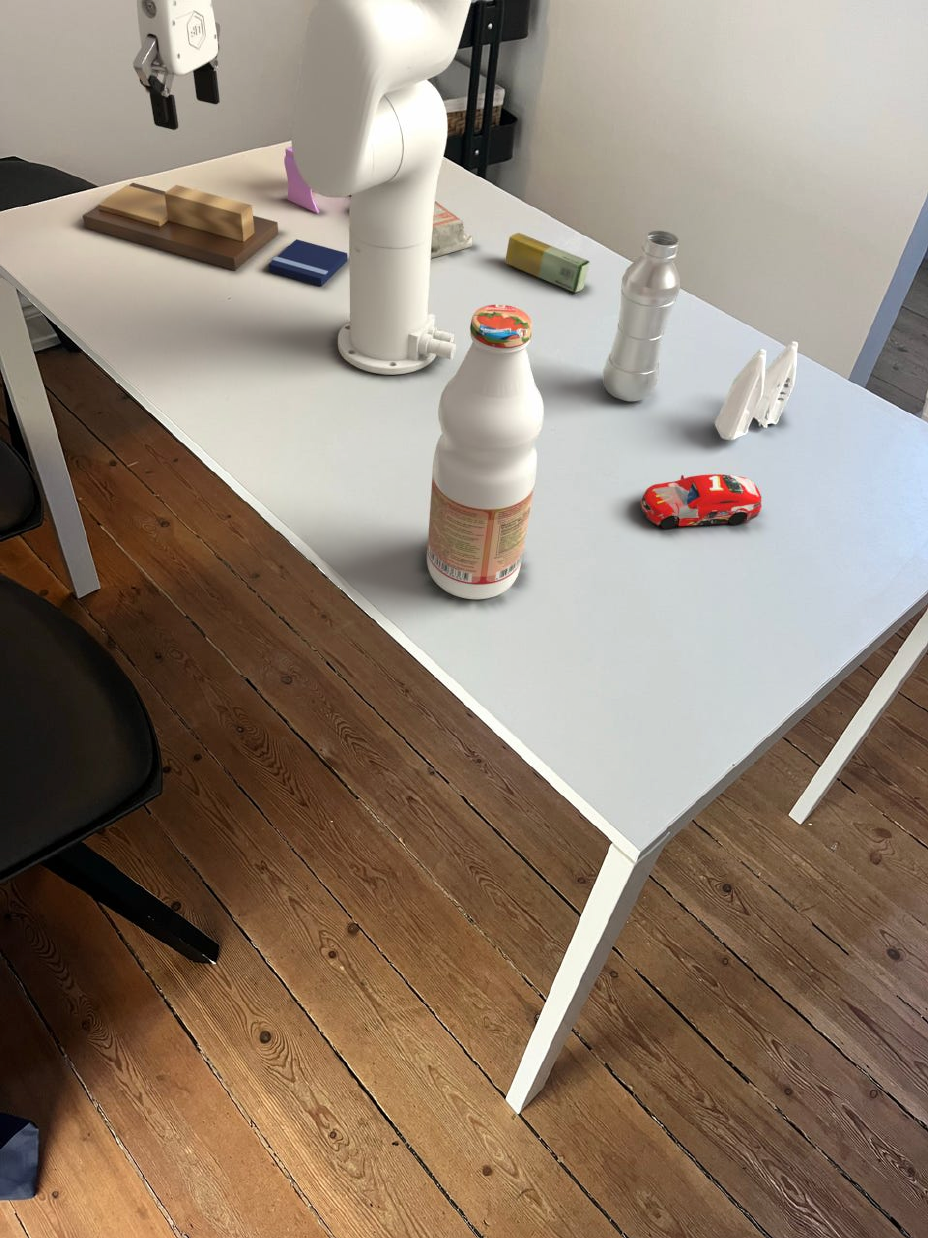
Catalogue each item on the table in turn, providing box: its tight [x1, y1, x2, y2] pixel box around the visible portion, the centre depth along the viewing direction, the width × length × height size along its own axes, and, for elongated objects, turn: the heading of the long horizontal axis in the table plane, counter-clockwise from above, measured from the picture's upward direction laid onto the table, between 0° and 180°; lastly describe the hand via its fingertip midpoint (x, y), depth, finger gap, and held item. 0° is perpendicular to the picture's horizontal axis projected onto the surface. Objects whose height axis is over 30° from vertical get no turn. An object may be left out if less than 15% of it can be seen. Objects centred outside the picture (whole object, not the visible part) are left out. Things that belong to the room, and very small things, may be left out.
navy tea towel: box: [267, 239, 348, 287], centre depth 135 cm, size 8×8×1 cm
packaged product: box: [431, 200, 473, 259], centre depth 143 cm, size 18×5×10 cm
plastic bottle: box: [602, 229, 681, 402], centre depth 114 cm, size 6×7×20 cm
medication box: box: [504, 232, 591, 294], centre depth 137 cm, size 12×3×4 cm, turn 57°
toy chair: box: [283, 145, 352, 214], centre depth 144 cm, size 8×9×15 cm
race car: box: [639, 473, 762, 530], centre depth 106 cm, size 13×5×4 cm, turn 99°
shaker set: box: [714, 341, 799, 441], centre depth 114 cm, size 12×4×11 cm, turn 130°
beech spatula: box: [97, 184, 254, 242], centre depth 137 cm, size 22×7×4 cm, turn 69°
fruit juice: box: [426, 304, 545, 600], centre depth 88 cm, size 9×9×28 cm
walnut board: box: [82, 182, 279, 272], centre depth 139 cm, size 24×12×2 cm, turn 69°
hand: (188, 113), depth 126 cm, fingers open, 9 cm apart
